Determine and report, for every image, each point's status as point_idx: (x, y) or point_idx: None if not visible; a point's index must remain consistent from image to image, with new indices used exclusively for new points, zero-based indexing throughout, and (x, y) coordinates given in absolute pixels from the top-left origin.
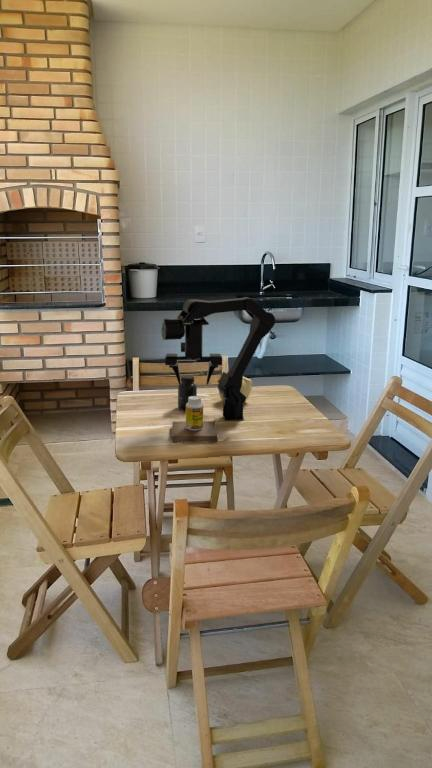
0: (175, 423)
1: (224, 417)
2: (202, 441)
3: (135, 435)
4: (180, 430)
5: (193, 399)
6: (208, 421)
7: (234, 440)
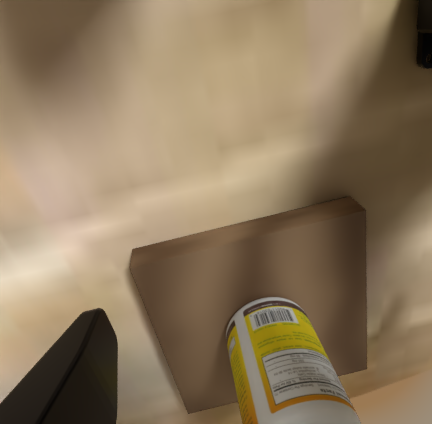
0: (156, 291)
1: (421, 32)
2: None
3: (8, 372)
4: (207, 360)
5: None
6: (329, 222)
7: (419, 320)
